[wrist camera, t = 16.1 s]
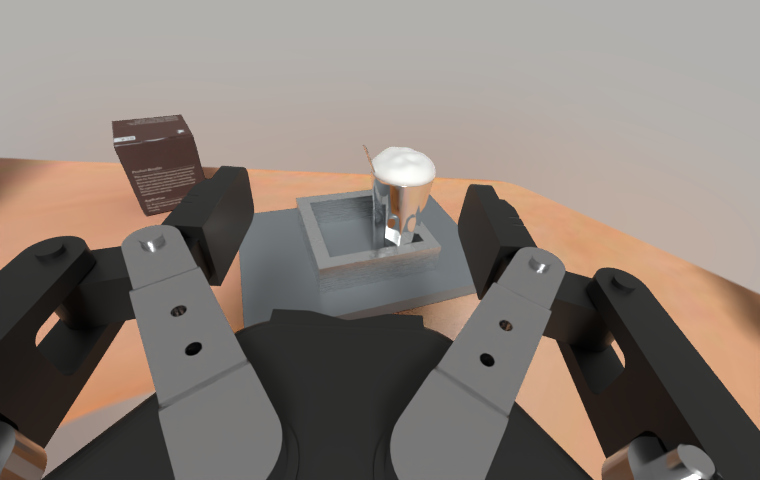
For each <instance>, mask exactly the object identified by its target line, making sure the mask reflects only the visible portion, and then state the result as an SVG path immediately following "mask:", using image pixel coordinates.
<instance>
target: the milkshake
mask: <svg viewBox="0 0 760 480" xmlns="http://www.w3.org/2000/svg"><path fill="white" fill-rule="evenodd" d="M363 146H364V149H365V152H366V154H367V157H368V159H369V162H370V164H371V182H372V201H373V250H375V249H381V248H387V247H392V246H400V245H404V244H409V243H415V242H416V239H417V235H418V231H419V228H420V224H421V221H422V217H423V213H424V209H425V206H426V203H427V200H428V196H429V193H430V190H431V187H432V184H433V180H434V177H435V166H434V164H433V162H432V161H431V160H430V159H429V158H428V157H427V156H425V155H424V154H423V153H421V152H417V151H414V150H413V149H411V148H408V147H402V148H399V147H389V148H387V149H385V150H384V151H383V152H381V153H380V154H379V155H378V156H376V157H375V158H374V159H373V160H372V161H371V159H370V156H369V154H368V151H367V148H366V147H365V145H363Z"/></svg>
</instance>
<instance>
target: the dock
mask: <svg viewBox="0 0 760 480" xmlns="http://www.w3.org/2000/svg"><path fill="white" fill-rule="evenodd" d="M296 203H297V208H294V209H286V210H278V211H270V212H262V213H254V216H253V221H252V223H251V225H250V227H249V229H248V231H247V233H246V235H245V237H244V239H243V241H242V243H241V245H240V248H239V255H240V271H241V286H242V302H243V317H244V328H246V327H248V326H251V325H254V324H257V323H261V322H264V321H269V320H270V317H271V314H272V311H273V309H288V310H310V311H314V312H318V313H322V314H325V315H329V316H333V317H337V318H340V319H344V320H354V319H360V318H366V317H372V316H378V315H384V314H392V313H396V312H400V311H404V310H408V309H412V308H416V307H420V306H425V305H429V304H433V303H437V302H441V301H445V300H449V299H453V298H457V297H461V296H465V295H470V294H474V293H477V292H476V289H475V286H474V283H473V280H472V276H471V273H470V270H469V267H468V264H467V261H466V257H465V254H464V251H463V248H462V245H461V242H460V238H459V235H458V225H457V224H456V223H455V222H454V221H453V220H452V218H451V217H450V216H449V215H448V214H447V213H446V212H445V211H444V210H443V209H442V207H441V206H440V205H439V204H438V203H437V202H436V201H435V200H434V199H433V198H432V196H431V195H430V194H429V196H428V200H427V203H426V206H425V209H424V213H423V217H422V221H421V224H420V228H419V231H418V235H417V239H416V242H415V243H409V244H404V245H400V246H392V247H387V248H381V249H375V250H373V201H372V190H365V191H356V192H347V193H338V194H329V195H320V196H311V197H302V198H296Z"/></svg>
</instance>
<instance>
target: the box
mask: <svg viewBox="0 0 760 480" xmlns="http://www.w3.org/2000/svg"><path fill="white" fill-rule="evenodd" d="M112 129H113V139H114V148H115V151H116V153H117V155H118V157H119V159H120V162H121V164H122V166H123V168H124V170H125V172H126V175H127V177H128V179H129V181H130V184H131V186H132V188H133V190H134V193H135V195H136V197H137V199H138V201H139V204H140V206H141V208H142V210H143V212H144V214H145V215H146V216H150V215H154V214H158V213H162V212H167V211H171V210H174V209H175V207H176V206H177V205H178V204H179V203H181V202H180V201H181V200H182V199H183V198H184V197H185V196H187V195H186V194H187V193H188V192H189V191H190V190H191V188H192V187H193V186H194V185H196V184H198V183H200V182H201V181H203V180H205V177H204V173H203V170H202V167H201V163H200V159H199V155H198V151H197V147H196V144H195V141H194V137H193V135H192V133H191V131H190V130H189V128H188V126H187V124H186V123H185V121H184V119H183V117H182V115H173V116H164V117H154V118H144V119H132V120H122V121H112Z"/></svg>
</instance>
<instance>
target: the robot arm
mask: <svg viewBox="0 0 760 480" xmlns="http://www.w3.org/2000/svg"><path fill="white" fill-rule="evenodd" d="M186 195H187V196H185V197H184V198H183V199H182V200H181V201H180V202H181V203H179V204H178V205H177V206H176V207H175V209H174V210H173V211H172V212H171V213H170V214H169V216H168V217H167V218H166V219H165V220H164V222H163V223H162V224H161V225H154V226H149V227H145V228H142V229H140V230H137V231H135V232H133V233H132V234H130V235H129V236H128V237H126V239H125V240H124V241H123V243H122V246H119V247H112V248H105V249H97V250H90V249H89V247H88V246H87V244H86V242H85V241H84V240H83V239H81V238H79V237H75V236H61V237H55V238H50V239H47V240H44V241H41V242H38V243H36V244H34V245H32V246H30V247H28V248H27V249H25V250H24V251H22V252H21V253H20V254H19V255H18V256H16V257H15V258H14V259H13V260H12V261H11V262H9V263H8V264H7V265H6V266H5V267H4V268H2V269H1V270H0V480H593V479H592V478H591V477H590V476H589V475H588V474H587V473H586V472H585V471H584V470H583V469H582V468H581V467H580V466H579V465H578V464H577V463H576V462H575V461H574V460H573V459H572V458H571V457H570V456H569V455H568V454H567V453H566V452H565V451H564V450H563V449H562V448H561V447H560V446H559V445H558V444H557V443H556V442H555V441H554V440H553V439H552V438H551V437H550V436H549V435H548V434H547V433H546V432H545V431H544V430H543V429H542V428H541V427H540V426H539V425H538V424H537V423H536V422H535V421H534V420H533V419H532V418H531V417H530V416H529V415H528V414H527V413H526V412H525V411H524V410H523V409H522V408H521V407H520V406H519V405H518V404H517V403H516V402H515V399H516V396H517V394H518V392H519V389H520V387H521V384H522V382H523V380H524V377H525V375H526V372H527V370H528V368H529V365H530V363H531V360H532V358H533V356H534V353H535V351H536V349H537V346H538V344H539V341H540V339H541V337H542V335H543V336H546V337H549V338H552V339H555V340H556V341H557V343H558V346H559V348H560V351H561V353H562V355H563V358H564V360H565V362H566V365H567V367H568V369H569V372H570V374H571V377H572V379H573V381H574V384H575V386H576V388H577V391H578V393H579V395H580V398H581V400H582V403H583V405H584V407H585V410H586V412H587V414H588V417H589V419H590V421H591V424H592V426H593V429H594V431H595V433H596V436H597V438H598V440H599V443H600V445H601V447H602V450H603V452H604V455H605V457H606V460H605V461H604V463H603V466H602V480H760V431H759V429H758V428H757V427H756V425H755V424H754V423H753V422H752V420H751V419H750V418H749V417H748V415H747V414H746V413H745V411H744V410H743V409H742V408H741V406H740V405H739V404H738V403H737V401H736V400H735V399H734V397H733V396H732V395H731V394H730V392H729V391H728V390H727V388H726V387H725V386H724V385H723V383H722V382H721V381H720V380H719V378H718V377H717V376H716V374H715V373H714V372H713V371H712V369H711V368H710V367H709V366H708V364H707V363H706V362H705V360H704V359H703V358H702V357H701V355H700V354H699V353H698V352H697V350H696V349H695V348H694V346H693V345H692V344H691V343H690V341H689V340H688V339H687V338H686V336H685V335H684V334H683V332H682V331H681V330H680V329H679V327H678V326H677V325H676V323H675V322H674V321H673V320H672V318H671V317H670V316H669V315H668V313H667V312H666V311H665V309H664V308H663V307H662V306H661V304H660V303H659V302H658V301H657V299H656V298H655V297H654V295H653V294H652V293H651V292H650V290H649V289H648V288H647V287H646V285H645V284H644V283H642V282H641V281H640V280H639V279H638V278H636V277H634V276H633V275H631V274H629V273H627V272H625V271H622V270H619V269H615V268H601V269H599V270H598V271H597V272H596V273H595V275H594V276H593V278H589V277H585V276H581V275H578V274H574V273H571V272H567V271H565V266H564V264H563V263H562V261H561V260H560V259H559V258H558V257H556V256H555V255H554V254H552V253H550V252H548V251H546V250H543V249H540V248H537V246H536V244H535V242H534V241H533V239H532V237H531V236H530V234H529V232H528V231H527V229H526V227H525V226H524V224H523V222H522V220H521V219H519V215H518V213H517V212H516V210H515V208H514V207H512V206H511V205H510V204H509V203H508V202H506V201H505V200H501V199H499V198H498V196H497V194H496V192H495V190H494V188H493V187H492V186H491V185H477V184H471V185H470V186H469V187H468V189H467V193H466V196H465V200H464V203H463V207H462V210H461V213H460V217H459V221H458V235H459V238H460V242H461V245H462V248H463V251H464V254H465V257H466V261H467V264H468V267H469V270H470V273H471V276H472V280H473V283H474V286H475V289H476V292H477V296H478V299H479V300H481V302H480V303H479V305H478V306H477V308H476V309H475V311H474V312H473V314H472V315H471V317H470V318H469V320H468V321H467V323H466V324H465V326H464V327H463V329H462V330H461V332H460V333H459V335H458V336H457V338H456V339H455V340H454V341H452V340H451V339H449V338H448V337H446V336H445V335H443V334H441V333H439V332H436V331H434V330H431V329H429V328H425V327H424V325H423V317H422V316H419V315H397V314H384V315H378V316H372V317H366V318H360V319H354V320H344V319H340V318H337V317H333V316H329V315H325V314H322V313H318V312H314V311H310V310H288V309H273V311H272V314H271V317H270V320H269V321H264V322H261V323H257V324H254V325H251V326H248V327H246V328H244V329H242V330H240V331H238V332H236V333H233V331H232V329H231V327H230V325H229V323H228V321H227V319H226V317H225V315H224V313H223V311H222V309H221V307H220V305H219V303H218V301H217V299H216V297H215V295H214V293H213V292H212V290H211V288H210V286H221V284H222V282H223V280H224V278H225V276H226V274H227V272H228V270H229V268H230V266H231V264H232V262H233V260H234V258H235V256H236V254H237V252H238V250H239V248H240V245H241V243H242V241H243V239H244V237H245V235H246V233H247V231H248V229H249V227H250V225H251V223H252V221H253V216H254V204H253V199H252V193H251V188H250V182H249V177H248V172H247V170H246V168H244V167H232V166H221V167H220V168H219V170H218V171H217V172H216V173H215V175H214V176H213V177H212V178H211V179H205V180H203V181H201V182H200V183H198V184H196V185H194V186H193V187H192V188H191V190H190V191H189V192H188V193H187V194H186ZM209 285H210V286H209ZM53 312H55V313H56V314H57V315H58V316H59V318H60V319H59V321H58V322H57V323H56V324H55V325H54V327H53V328H52V329H51V330H50V331H49V333H48V334H47V335H46V336H45V338H44V339H43V340H42V341H41V342H40V344H39V345H38V346H37V347H36V344H35V339H36V335H37V332H38V330H39V329H40V327H41V326H42V325H43V324H44V323H45V321H46V320H47V319H48V318H49V317H50V316H51V314H52V313H53ZM131 319H136V320H137V324H138V328H139V331H140V335H141V339H142V342H143V346H144V350H145V353H146V357H147V361H148V364H149V368H150V372H151V375H152V379H153V383H154V386H155V390H156V392H155V393H154V394H153V395H151V396H150V397H149V398H147V399H146V400H145V401H143V402H142V403H141V404H139V405H138V406H137V407H136V408H134V409H133V410H132V411H130V412H129V413H128V414H126V415H125V416H124V417H123V418H121V419H120V420H118V421H117V422H116V423H115V424H113V425H112V426H111V427H109V428H108V429H107V430H105V431H104V432H103V433H101V434H100V435H99V436H98V437H96V438H95V439H93V440H92V441H91V442H90V443H88V444H87V445H86V446H84V447H83V448H82V449H80V450H79V451H78V452H76V453H75V454H74V455H72V456H71V457H70V458H68V459H67V460H66V461H65V462H63V463H62V464H61V465H59V466H58V467H57V468H55V469H54V470H53V471H52V472H50V473H49V474H48V475H46V476H45V477H44V478H43V479H41V478H42V476H43V474H44V472H45V468H46V464H47V455H46V453H45V450H44V448H45V447H46V445H47V444H48V442H49V440H50V439H51V437H52V436H53V434H54V433H55V431H56V429H57V428H58V426H59V425H60V423H61V422H62V420H63V418H64V417H65V415H66V414H67V412H68V411H69V409H70V407H71V406H72V404H73V403H74V401H75V400H76V398H77V396H78V395H79V393H80V392H81V390H82V388H83V387H84V385H85V384H86V382H87V381H88V379H89V377H90V376H91V374H92V373H93V371H94V370H95V368H96V366H97V365H98V363H99V362H100V360H101V359H102V357H103V355H104V354H105V352H106V351H107V349H108V347H109V346H110V344H111V343H112V341H113V340H114V338H115V336H116V335H117V333H118V332H119V330H120V329H121V327H122V325H123V324H124V322H125V321H126V320H131ZM614 340H616V342H617V344H618V345H619V347H620V349H621V350H622V352H623V354H624V358H625V368H624V367H623V365H622V363H621V361H620V360H619V358H618V356H617V354H616V353H615V351H614V349H613V347H612V346H611V343H612V342H613V341H614Z"/></svg>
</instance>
